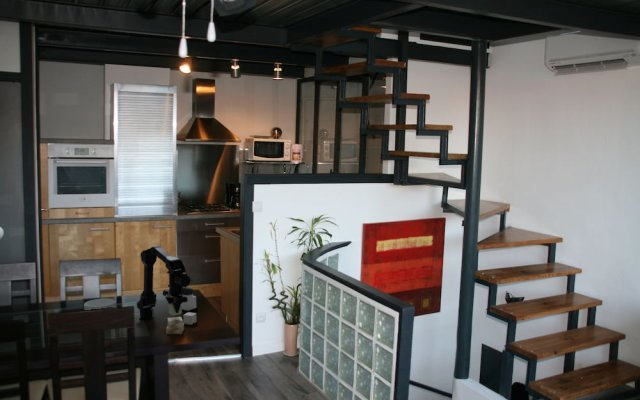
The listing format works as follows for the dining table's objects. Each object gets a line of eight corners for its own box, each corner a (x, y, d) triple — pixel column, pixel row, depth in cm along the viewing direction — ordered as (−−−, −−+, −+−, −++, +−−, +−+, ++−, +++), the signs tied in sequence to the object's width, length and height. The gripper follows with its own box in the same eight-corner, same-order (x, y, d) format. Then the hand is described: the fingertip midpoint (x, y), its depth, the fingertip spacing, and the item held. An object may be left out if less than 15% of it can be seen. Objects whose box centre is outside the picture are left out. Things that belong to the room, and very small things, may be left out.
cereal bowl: (113, 308, 344) (113, 296, 344) (118, 316, 330) (117, 304, 329) (83, 312, 337) (82, 300, 336) (85, 320, 322) (85, 308, 321)
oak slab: (166, 334, 304) (166, 328, 304) (168, 329, 312) (168, 323, 311) (182, 334, 305) (182, 328, 304) (184, 329, 313) (183, 322, 312)
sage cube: (181, 313, 307) (181, 304, 306) (172, 315, 304) (172, 306, 303) (177, 311, 311) (177, 302, 310) (168, 313, 308) (168, 303, 307)
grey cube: (183, 323, 320) (183, 314, 320) (188, 320, 325) (188, 312, 325) (191, 324, 319) (191, 315, 318) (196, 321, 324) (196, 313, 323)
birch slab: (169, 328, 303) (169, 322, 303) (167, 324, 310) (167, 317, 309) (182, 327, 306) (182, 320, 305) (181, 322, 312) (181, 316, 312)
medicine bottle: (196, 307, 348) (196, 288, 347) (187, 310, 342) (187, 290, 341) (187, 305, 352) (187, 286, 351) (179, 308, 346) (178, 288, 345)
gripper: (196, 284, 303) (197, 313, 305) (181, 276, 317) (182, 304, 319) (176, 287, 296) (176, 317, 298) (162, 279, 311) (162, 308, 313)
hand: (175, 311), depth 307 cm, fingers closed on sage cube, 5 cm apart
